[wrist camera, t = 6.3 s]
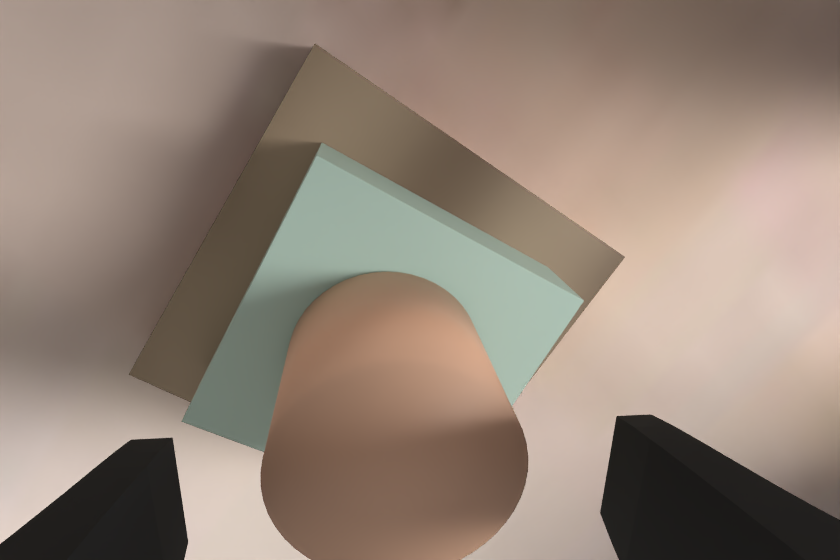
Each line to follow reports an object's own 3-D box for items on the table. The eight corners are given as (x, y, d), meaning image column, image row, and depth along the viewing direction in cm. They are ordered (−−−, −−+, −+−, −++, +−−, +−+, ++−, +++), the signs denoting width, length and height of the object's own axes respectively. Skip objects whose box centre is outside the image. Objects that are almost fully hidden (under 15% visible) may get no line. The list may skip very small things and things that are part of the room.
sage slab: (548, 267, 15) (584, 300, 13) (424, 456, 17) (436, 516, 15) (321, 142, 14) (316, 155, 11) (207, 369, 15) (181, 421, 13)
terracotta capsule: (511, 311, 13) (574, 409, 9) (432, 460, 14) (460, 599, 10) (328, 242, 12) (316, 322, 8) (261, 410, 13) (225, 546, 9)
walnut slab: (589, 234, 18) (624, 257, 16) (420, 459, 20) (430, 509, 18) (319, 49, 15) (314, 43, 13) (158, 334, 17) (128, 374, 15)
